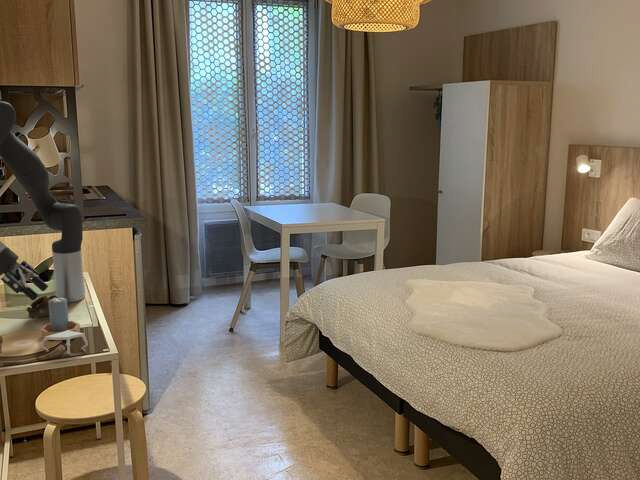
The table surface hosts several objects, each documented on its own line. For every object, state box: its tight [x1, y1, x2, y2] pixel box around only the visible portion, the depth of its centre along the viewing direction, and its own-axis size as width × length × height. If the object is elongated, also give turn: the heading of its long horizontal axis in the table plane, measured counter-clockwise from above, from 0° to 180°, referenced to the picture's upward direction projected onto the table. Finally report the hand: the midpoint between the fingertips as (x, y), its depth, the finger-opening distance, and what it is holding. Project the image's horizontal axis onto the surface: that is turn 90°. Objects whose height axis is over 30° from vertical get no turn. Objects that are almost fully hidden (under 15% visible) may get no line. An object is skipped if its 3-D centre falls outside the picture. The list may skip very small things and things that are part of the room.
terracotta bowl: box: [40, 320, 81, 341], centre depth 192 cm, size 10×10×2 cm
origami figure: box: [38, 330, 89, 355], centre depth 181 cm, size 12×8×5 cm
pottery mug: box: [26, 294, 58, 319], centre depth 206 cm, size 12×10×8 cm
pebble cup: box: [48, 298, 70, 332], centre depth 191 cm, size 5×5×11 cm
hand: (41, 293), depth 189 cm, fingers open, 8 cm apart
